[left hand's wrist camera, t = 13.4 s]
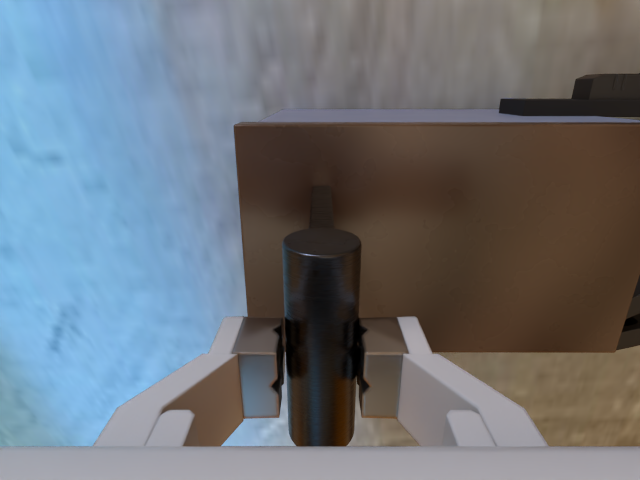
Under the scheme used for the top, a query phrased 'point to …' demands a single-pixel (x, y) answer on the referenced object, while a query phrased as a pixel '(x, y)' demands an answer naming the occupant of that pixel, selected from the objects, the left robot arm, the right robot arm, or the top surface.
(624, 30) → the top surface
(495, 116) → the chest
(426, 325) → the block with bar handle
